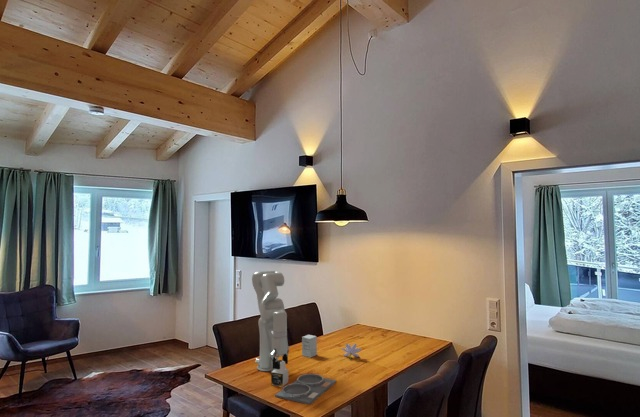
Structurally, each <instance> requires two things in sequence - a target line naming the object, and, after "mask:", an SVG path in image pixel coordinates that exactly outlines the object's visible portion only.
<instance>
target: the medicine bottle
mask: <svg viewBox="0 0 640 417" xmlns="http://www.w3.org/2000/svg"><path fill="white" fill-rule="evenodd" d="M277 361H278V369H275V370H272V371H270V374H271V375H270V378H271V379H270V384H271V386H275V387H282V388H283V387H285V386H286V385H287V384H288V383H289V368H286V364H285V361H283V360H282V359H278V360H277Z"/></svg>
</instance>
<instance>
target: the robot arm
mask: <svg viewBox="0 0 640 417" xmlns="http://www.w3.org/2000/svg"><path fill="white" fill-rule="evenodd" d="M251 281H252V282H251V283H252V286H253V287H252V288H253V289H254V291H255V293H256V300H257V305H258V307H257V308H258V311H259V315H260V318H258V331H259V358H255V361H254V363H255V364H257V366H256V369H257V370H259V371H260V372H272V371H273V370H275V369H278V360H279V357H281V358H282V359H281V360H283V361H285V365H287V364H288V363H289V362H288V361H289V360H288V359H289V358H288V357H289V352H290V346H289V344H288V343H289V342H288V330H287V329H288V320H287V319H288V314H287V312H286V309H285V305H284V301H283V299H281V298H280V297H279V291H278V287H283V286H284V285H285V276H284V274H283V273H282V272H280V271H278V270H266V271H265V270H263V271H260V270H259V271H256V272H254V273H252V276H251Z"/></svg>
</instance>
